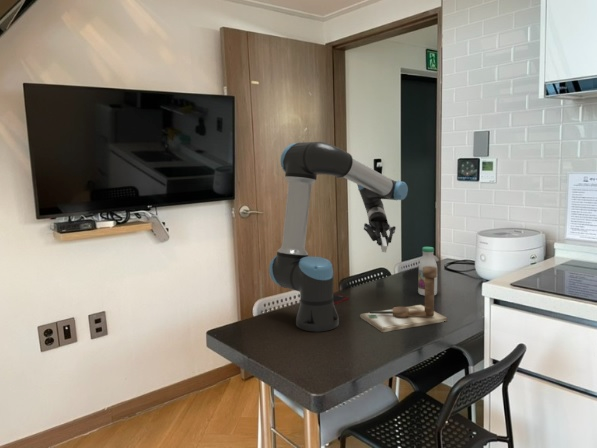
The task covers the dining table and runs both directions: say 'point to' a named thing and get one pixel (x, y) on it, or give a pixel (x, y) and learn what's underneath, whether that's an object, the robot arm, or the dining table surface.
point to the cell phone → (339, 298)
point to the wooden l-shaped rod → (429, 276)
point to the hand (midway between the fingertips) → (384, 249)
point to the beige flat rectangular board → (401, 320)
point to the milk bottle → (425, 261)
